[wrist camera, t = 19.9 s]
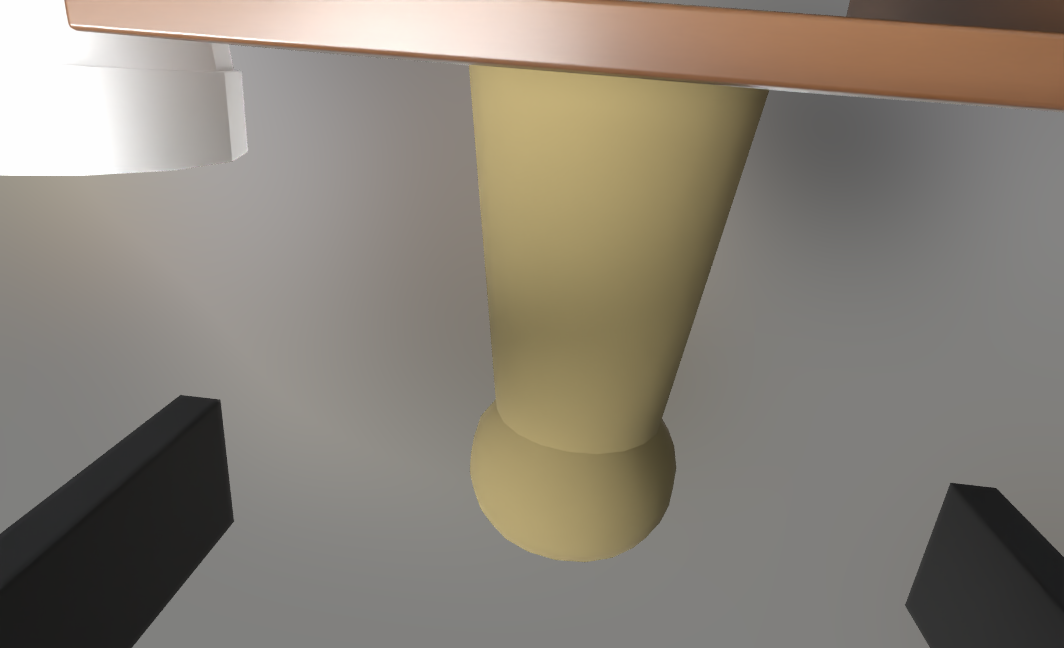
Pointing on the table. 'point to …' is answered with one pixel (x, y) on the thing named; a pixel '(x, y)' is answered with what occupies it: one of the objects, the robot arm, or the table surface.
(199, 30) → the brown square box
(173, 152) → the foam cup
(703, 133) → the tan knobbed peg
